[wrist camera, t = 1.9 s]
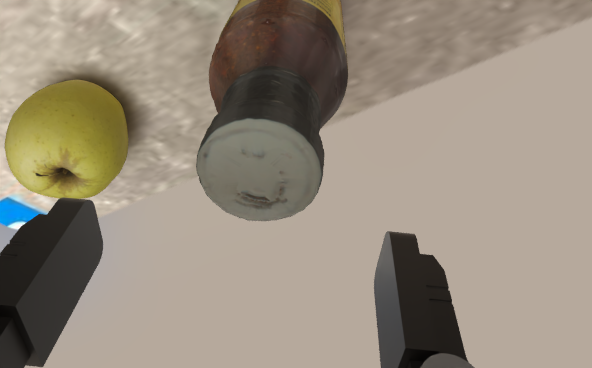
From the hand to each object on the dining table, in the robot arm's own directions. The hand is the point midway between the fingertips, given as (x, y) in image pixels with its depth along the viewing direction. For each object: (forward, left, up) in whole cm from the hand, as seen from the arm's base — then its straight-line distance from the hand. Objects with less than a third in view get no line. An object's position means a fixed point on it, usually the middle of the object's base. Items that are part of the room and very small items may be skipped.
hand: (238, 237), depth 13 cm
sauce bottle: (0, 0, -22) cm, 22 cm away
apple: (+15, +10, -22) cm, 29 cm away
